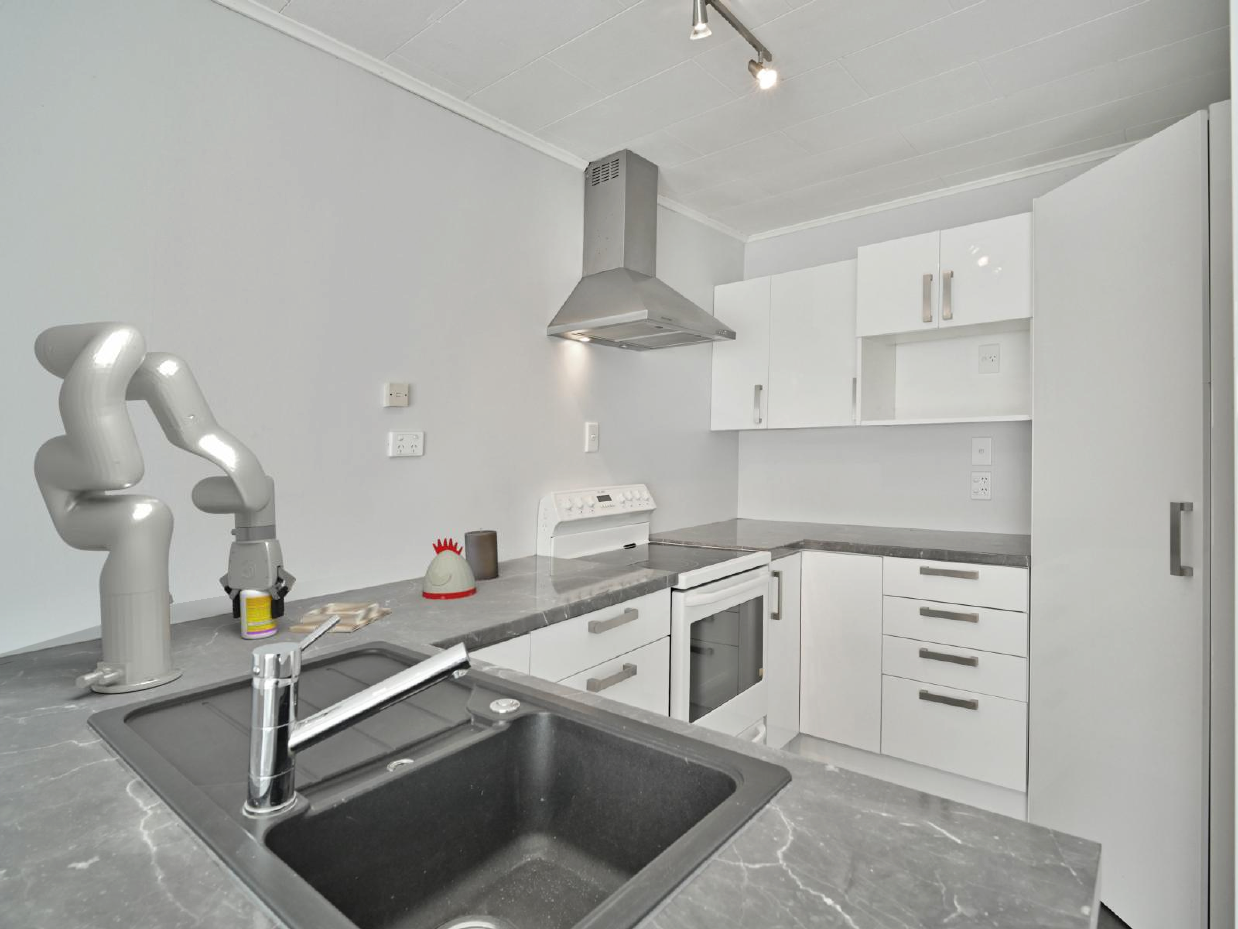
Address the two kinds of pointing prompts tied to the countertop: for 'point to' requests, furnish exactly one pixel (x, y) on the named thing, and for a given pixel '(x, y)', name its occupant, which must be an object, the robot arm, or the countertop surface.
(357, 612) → the beige flat rectangular tray
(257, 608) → the supplement bottle
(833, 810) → the countertop surface
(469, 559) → the pillar candle
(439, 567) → the kitchen timer
